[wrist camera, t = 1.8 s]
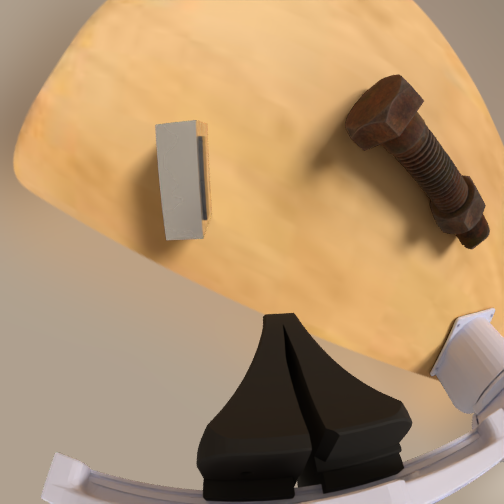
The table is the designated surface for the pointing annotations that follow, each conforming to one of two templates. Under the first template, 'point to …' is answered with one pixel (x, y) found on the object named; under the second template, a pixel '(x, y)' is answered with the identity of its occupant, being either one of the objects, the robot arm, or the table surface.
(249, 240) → the table surface
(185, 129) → the block
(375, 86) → the bolt
